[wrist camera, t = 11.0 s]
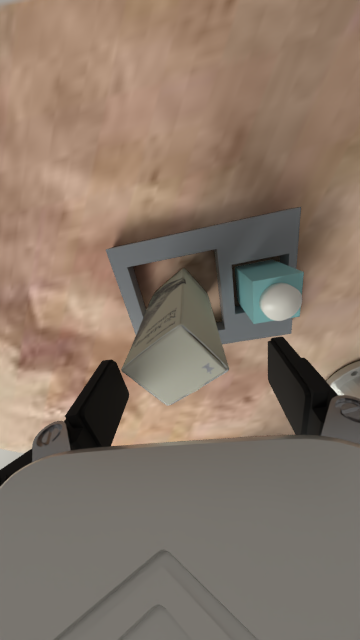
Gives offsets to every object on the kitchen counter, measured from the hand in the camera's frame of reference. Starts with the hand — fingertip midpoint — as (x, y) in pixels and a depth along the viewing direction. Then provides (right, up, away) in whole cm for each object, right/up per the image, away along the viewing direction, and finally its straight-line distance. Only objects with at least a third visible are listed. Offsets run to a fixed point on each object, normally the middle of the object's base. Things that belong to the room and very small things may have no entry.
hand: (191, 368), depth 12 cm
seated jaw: (+8, +7, +10) cm, 15 cm away
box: (-1, +6, +11) cm, 13 cm away
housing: (+2, +6, +10) cm, 12 cm away
